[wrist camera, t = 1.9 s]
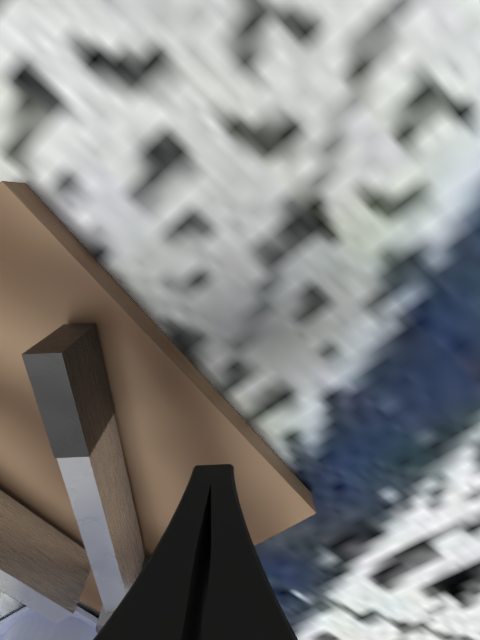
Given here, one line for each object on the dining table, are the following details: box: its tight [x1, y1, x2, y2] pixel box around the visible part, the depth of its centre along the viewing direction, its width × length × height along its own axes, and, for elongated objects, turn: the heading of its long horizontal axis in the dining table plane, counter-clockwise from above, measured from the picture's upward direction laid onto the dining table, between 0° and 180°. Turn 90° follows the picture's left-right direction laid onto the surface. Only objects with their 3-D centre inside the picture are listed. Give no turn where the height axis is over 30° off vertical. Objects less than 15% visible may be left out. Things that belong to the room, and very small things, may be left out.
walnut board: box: [0, 181, 316, 612], centre depth 19 cm, size 18×24×2 cm
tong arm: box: [21, 323, 150, 634], centre depth 16 cm, size 19×3×3 cm, turn 2°
